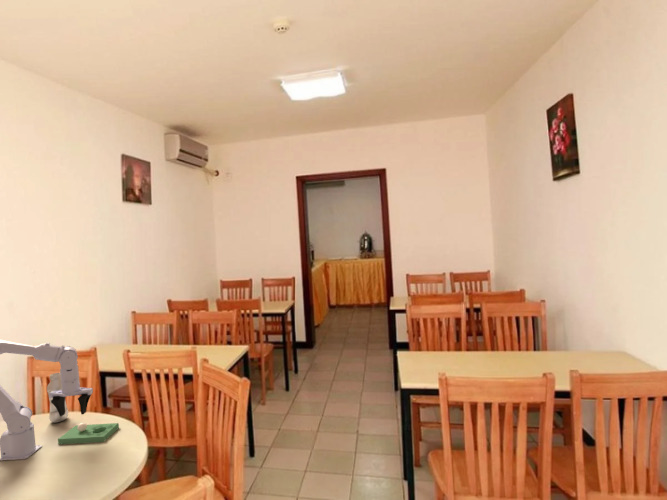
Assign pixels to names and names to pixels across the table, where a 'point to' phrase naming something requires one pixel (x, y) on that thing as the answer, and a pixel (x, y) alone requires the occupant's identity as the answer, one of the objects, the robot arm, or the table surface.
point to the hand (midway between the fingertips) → (73, 414)
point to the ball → (82, 427)
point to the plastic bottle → (52, 386)
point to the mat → (89, 434)
